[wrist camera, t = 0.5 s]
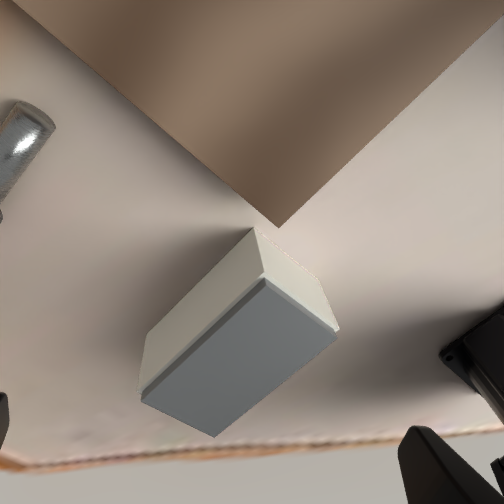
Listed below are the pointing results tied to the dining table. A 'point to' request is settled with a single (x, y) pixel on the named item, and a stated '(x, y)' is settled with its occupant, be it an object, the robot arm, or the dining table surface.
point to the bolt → (21, 143)
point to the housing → (235, 336)
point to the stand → (269, 76)
